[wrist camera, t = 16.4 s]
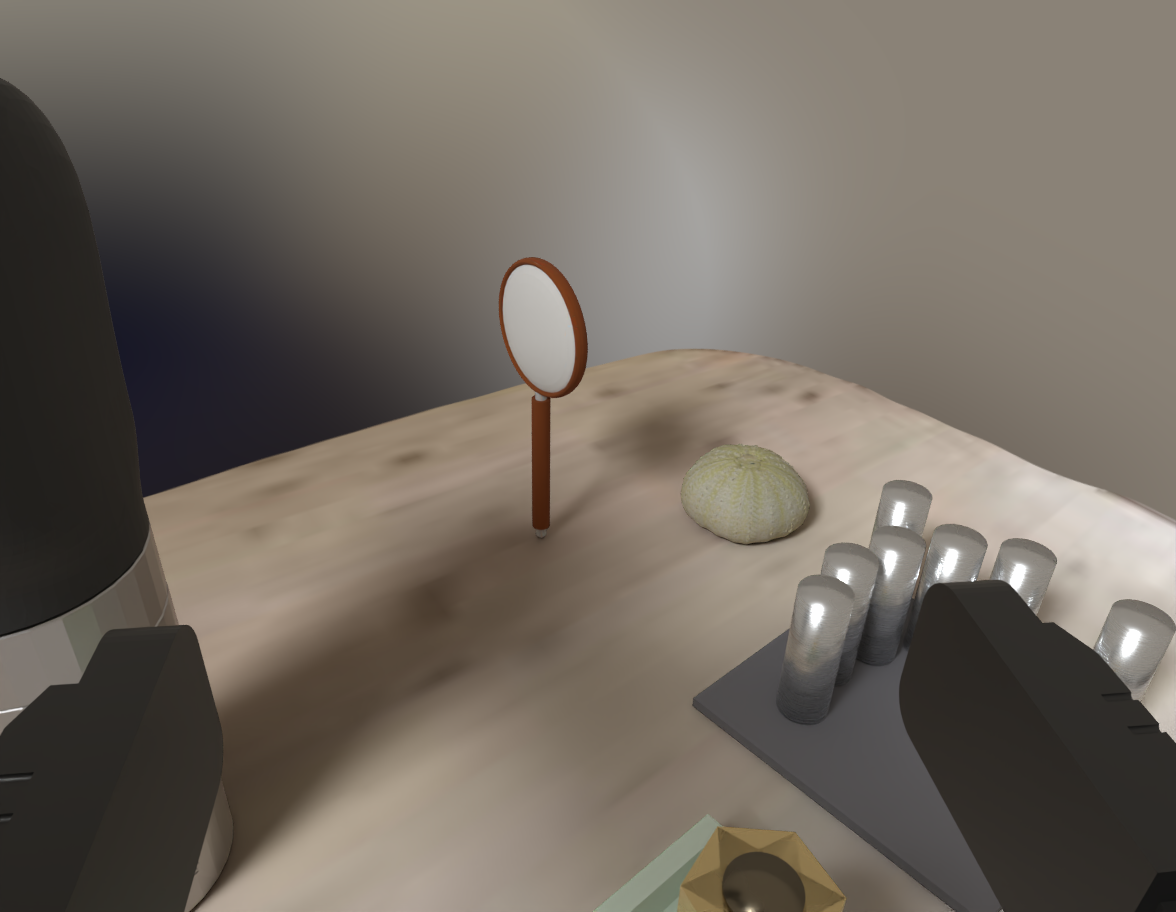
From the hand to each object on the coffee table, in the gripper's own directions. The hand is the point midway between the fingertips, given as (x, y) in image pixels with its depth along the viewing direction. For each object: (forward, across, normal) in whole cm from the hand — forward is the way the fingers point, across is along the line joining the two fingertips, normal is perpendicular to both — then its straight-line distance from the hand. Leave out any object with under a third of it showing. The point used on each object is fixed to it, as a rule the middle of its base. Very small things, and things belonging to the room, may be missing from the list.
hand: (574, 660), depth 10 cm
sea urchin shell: (+44, -18, +30) cm, 57 cm away
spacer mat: (+24, -22, +30) cm, 44 cm away
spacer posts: (+25, -23, +29) cm, 45 cm away
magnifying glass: (+43, -3, +30) cm, 52 cm away
